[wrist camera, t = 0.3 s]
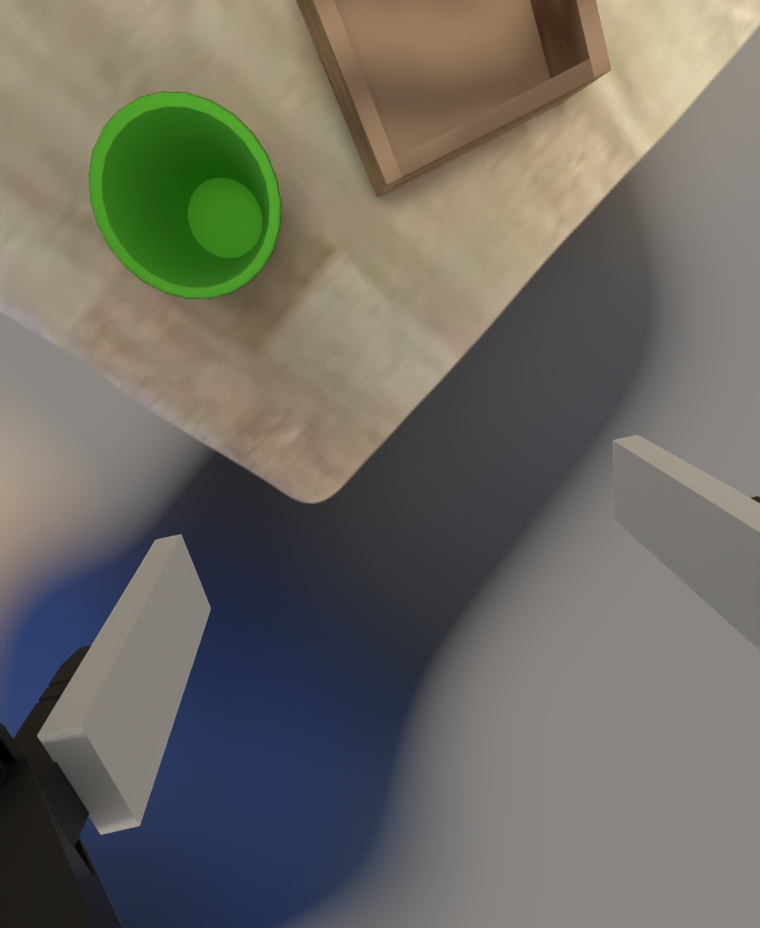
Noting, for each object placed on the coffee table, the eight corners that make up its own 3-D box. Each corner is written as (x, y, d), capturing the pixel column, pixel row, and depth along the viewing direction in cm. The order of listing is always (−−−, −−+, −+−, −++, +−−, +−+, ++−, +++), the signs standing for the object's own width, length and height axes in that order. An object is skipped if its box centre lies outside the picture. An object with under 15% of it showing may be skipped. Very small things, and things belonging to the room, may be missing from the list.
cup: (259, 121, 33) (229, 57, 23) (314, 262, 36) (309, 261, 26) (132, 173, 33) (46, 134, 23) (198, 308, 37) (149, 325, 26)
